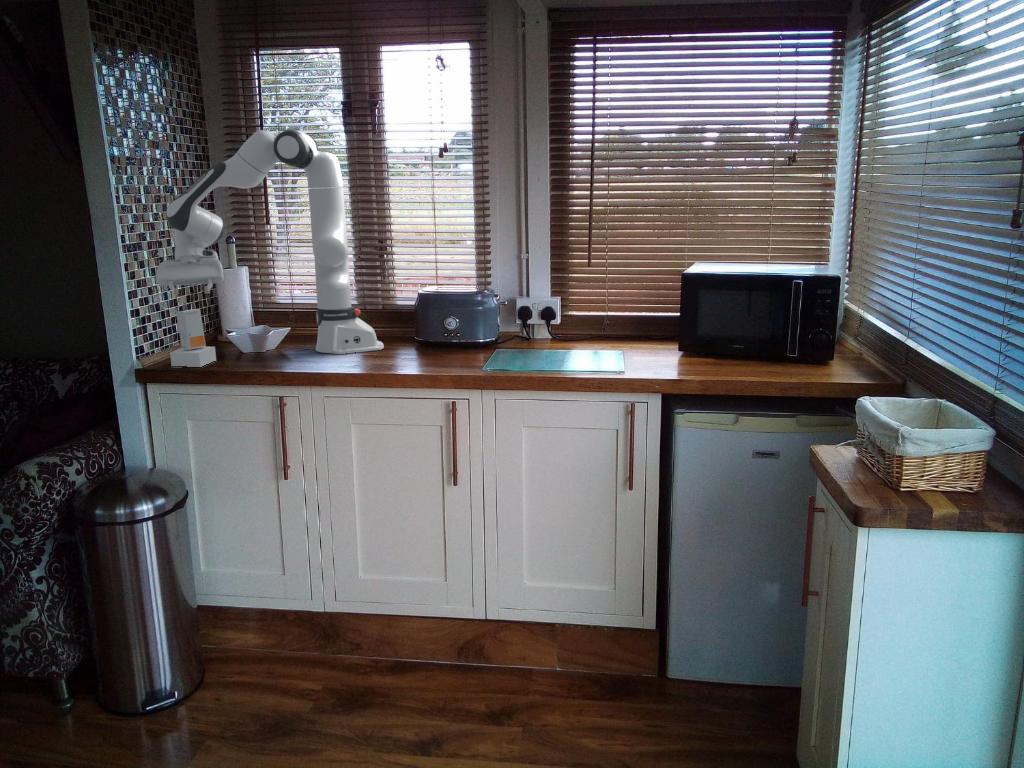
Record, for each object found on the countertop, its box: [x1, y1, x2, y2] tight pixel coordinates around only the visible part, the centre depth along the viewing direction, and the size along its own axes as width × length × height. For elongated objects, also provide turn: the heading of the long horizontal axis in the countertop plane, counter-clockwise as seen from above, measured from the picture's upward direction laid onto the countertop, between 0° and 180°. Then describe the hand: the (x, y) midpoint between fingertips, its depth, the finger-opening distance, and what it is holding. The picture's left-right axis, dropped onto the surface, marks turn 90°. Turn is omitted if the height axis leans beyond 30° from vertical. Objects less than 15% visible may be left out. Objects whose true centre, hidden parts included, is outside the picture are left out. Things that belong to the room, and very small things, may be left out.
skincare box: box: [175, 308, 207, 350], centre depth 258 cm, size 6×4×12 cm
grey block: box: [169, 346, 217, 368], centre depth 259 cm, size 10×10×5 cm
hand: (191, 293), depth 262 cm, fingers open, 8 cm apart
